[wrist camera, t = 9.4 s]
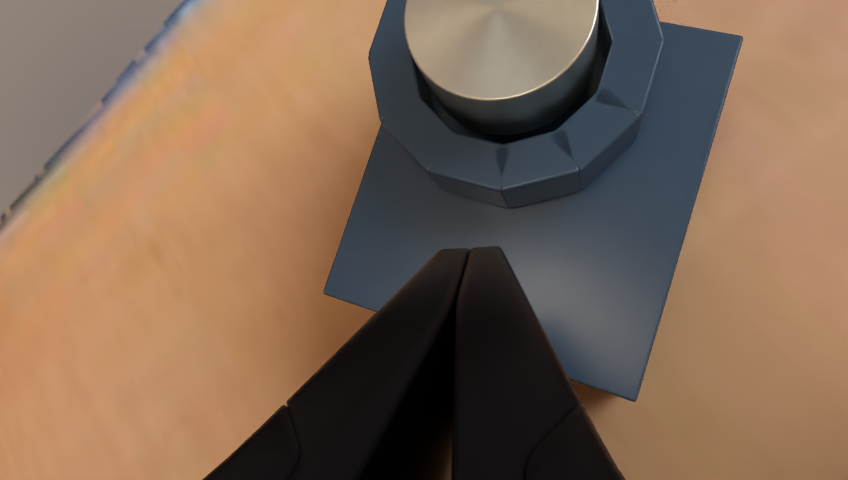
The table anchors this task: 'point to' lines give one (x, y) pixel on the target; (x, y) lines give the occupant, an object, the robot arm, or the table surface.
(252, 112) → the table surface
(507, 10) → the knob
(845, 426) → the table surface
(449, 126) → the push button box
